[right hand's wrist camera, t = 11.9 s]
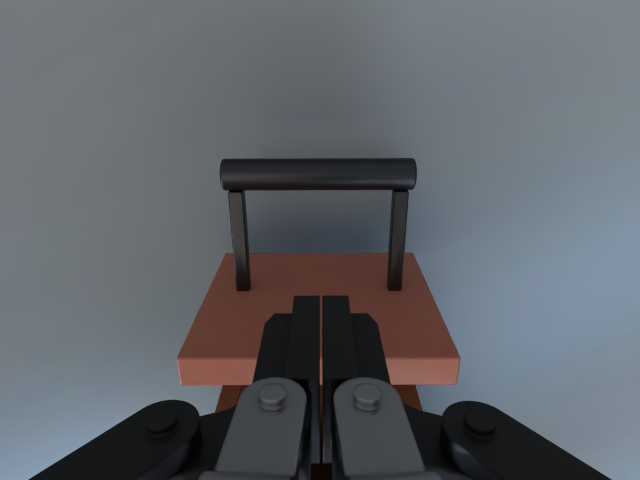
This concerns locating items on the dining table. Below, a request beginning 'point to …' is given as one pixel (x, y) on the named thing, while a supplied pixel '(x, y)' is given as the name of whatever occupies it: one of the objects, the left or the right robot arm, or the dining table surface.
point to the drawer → (317, 286)
